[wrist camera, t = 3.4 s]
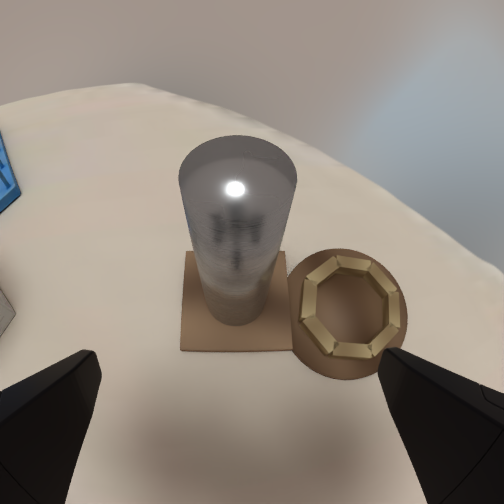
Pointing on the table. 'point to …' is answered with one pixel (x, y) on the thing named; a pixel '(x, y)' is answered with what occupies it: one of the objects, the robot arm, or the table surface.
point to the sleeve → (236, 220)
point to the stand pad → (235, 337)
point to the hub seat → (344, 313)
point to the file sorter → (6, 179)
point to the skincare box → (5, 313)
